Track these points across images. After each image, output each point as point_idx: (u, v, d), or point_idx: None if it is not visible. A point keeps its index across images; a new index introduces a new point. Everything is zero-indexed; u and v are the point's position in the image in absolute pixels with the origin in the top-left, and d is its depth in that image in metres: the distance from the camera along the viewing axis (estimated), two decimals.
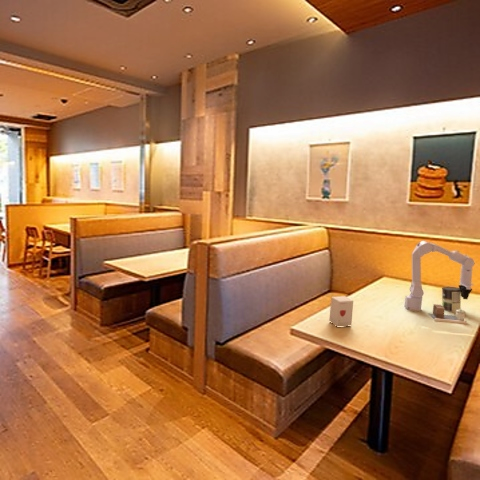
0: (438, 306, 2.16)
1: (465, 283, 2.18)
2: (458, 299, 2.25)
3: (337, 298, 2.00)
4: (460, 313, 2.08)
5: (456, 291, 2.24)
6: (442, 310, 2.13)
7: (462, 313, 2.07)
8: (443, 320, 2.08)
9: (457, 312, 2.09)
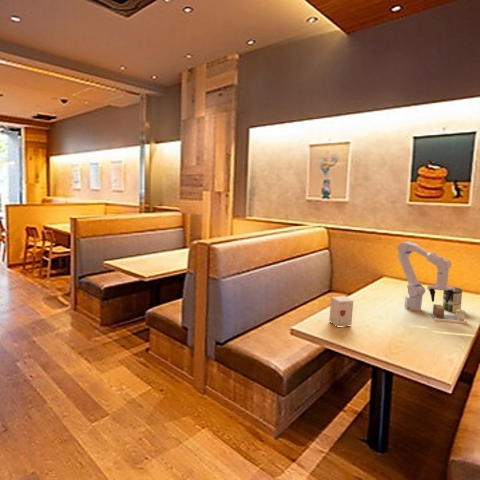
0: (438, 306, 2.16)
1: (436, 285, 2.16)
2: (459, 301, 2.24)
3: (337, 298, 2.00)
4: (460, 313, 2.08)
5: (458, 293, 2.23)
6: (442, 310, 2.13)
7: (462, 313, 2.07)
8: (443, 320, 2.08)
9: (457, 312, 2.09)
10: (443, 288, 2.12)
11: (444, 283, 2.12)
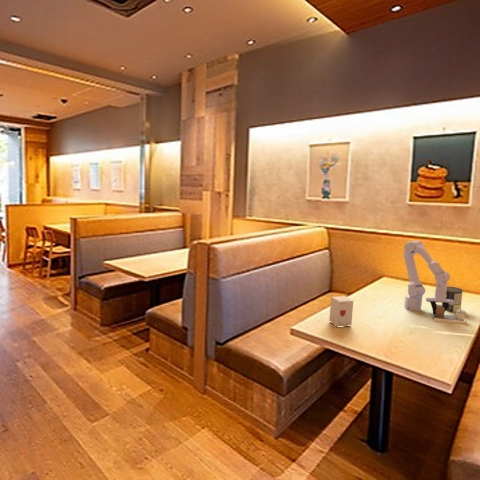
0: (438, 306, 2.16)
1: None
2: (460, 300, 2.24)
3: (337, 298, 2.00)
4: (460, 313, 2.08)
5: (458, 293, 2.23)
6: (442, 310, 2.13)
7: (462, 313, 2.07)
8: (443, 320, 2.08)
9: (457, 312, 2.09)
10: (442, 301, 2.13)
11: (443, 296, 2.13)
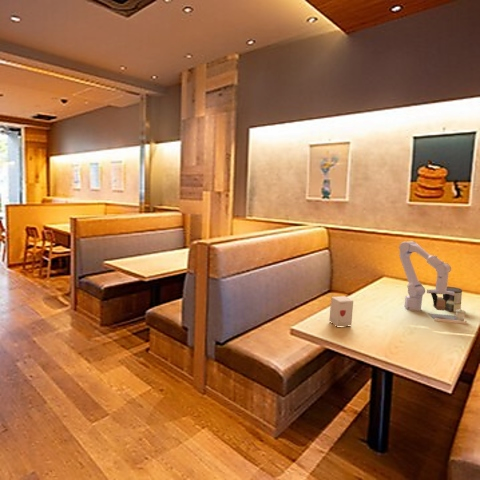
0: (439, 298, 2.16)
1: (435, 289, 2.17)
2: (460, 300, 2.25)
3: (337, 298, 2.00)
4: (460, 313, 2.08)
5: (458, 292, 2.24)
6: (443, 302, 2.13)
7: (462, 313, 2.07)
8: (443, 320, 2.08)
9: (457, 312, 2.09)
10: (442, 292, 2.12)
11: (443, 287, 2.12)
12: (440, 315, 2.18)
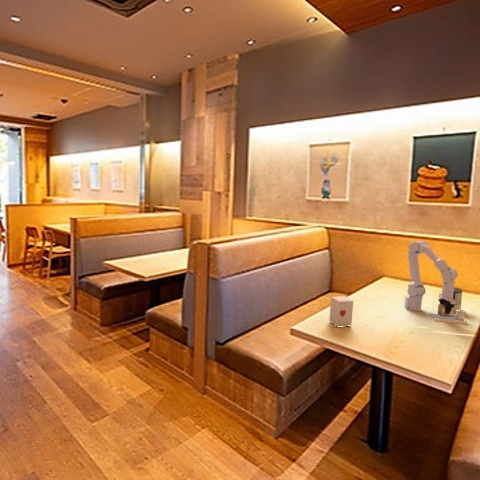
0: None
1: None
2: (460, 300, 2.25)
3: (337, 298, 2.00)
4: (460, 313, 2.08)
5: (459, 292, 2.24)
6: (440, 308, 2.11)
7: (462, 313, 2.07)
8: (443, 320, 2.08)
9: (457, 312, 2.09)
10: (441, 297, 2.10)
11: (443, 292, 2.10)
12: None
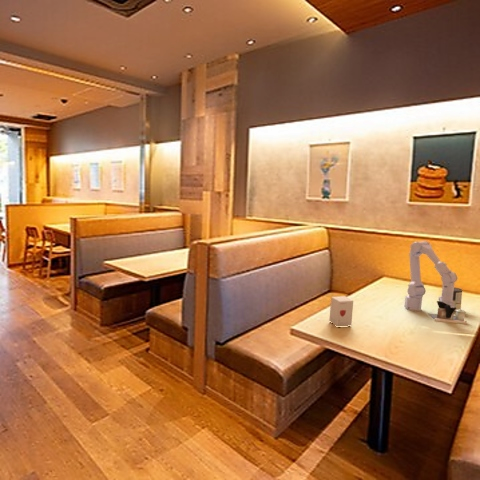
0: (444, 308, 2.12)
1: None
2: (460, 300, 2.26)
3: (337, 298, 2.00)
4: (460, 313, 2.08)
5: (460, 292, 2.24)
6: (440, 311, 2.11)
7: (462, 313, 2.07)
8: (443, 320, 2.08)
9: (457, 312, 2.09)
10: (440, 300, 2.11)
11: (442, 295, 2.10)
12: None
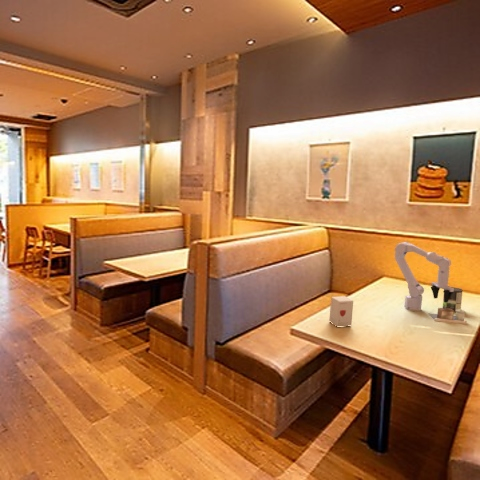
0: (444, 308, 2.12)
1: None
2: (461, 300, 2.26)
3: (337, 298, 2.00)
4: (460, 313, 2.08)
5: (460, 292, 2.25)
6: (440, 311, 2.11)
7: (462, 313, 2.07)
8: (443, 320, 2.08)
9: (457, 312, 2.09)
10: (437, 285, 2.17)
11: (439, 281, 2.16)
12: None
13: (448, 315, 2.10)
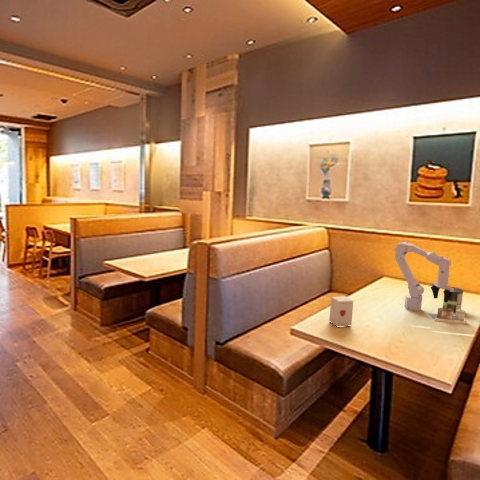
0: (444, 308, 2.12)
1: None
2: (461, 300, 2.25)
3: (337, 298, 2.00)
4: (460, 313, 2.08)
5: (461, 293, 2.24)
6: (440, 311, 2.11)
7: (462, 313, 2.07)
8: (443, 320, 2.08)
9: (457, 312, 2.09)
10: (437, 285, 2.17)
11: (439, 281, 2.16)
12: None
13: (448, 315, 2.10)
